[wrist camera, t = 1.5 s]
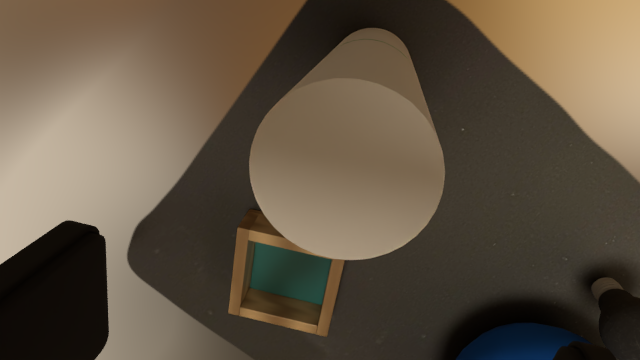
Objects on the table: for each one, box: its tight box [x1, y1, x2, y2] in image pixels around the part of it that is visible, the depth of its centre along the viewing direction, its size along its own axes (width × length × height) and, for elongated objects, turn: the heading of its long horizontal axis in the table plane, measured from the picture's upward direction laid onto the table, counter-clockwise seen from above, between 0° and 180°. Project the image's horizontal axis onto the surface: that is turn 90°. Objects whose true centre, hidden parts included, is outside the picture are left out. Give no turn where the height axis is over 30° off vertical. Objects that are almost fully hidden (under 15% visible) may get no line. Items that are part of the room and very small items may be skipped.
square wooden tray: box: [229, 209, 345, 337], centre depth 46 cm, size 11×11×4 cm
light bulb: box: [591, 277, 640, 360], centre depth 39 cm, size 6×6×10 cm
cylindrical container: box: [249, 28, 445, 260], centre depth 27 cm, size 7×7×25 cm
